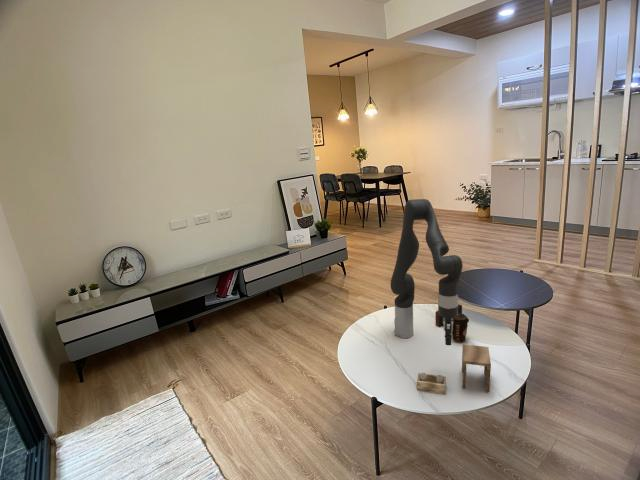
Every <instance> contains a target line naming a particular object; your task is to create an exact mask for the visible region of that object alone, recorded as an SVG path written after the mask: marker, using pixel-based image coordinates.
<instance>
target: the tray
mask: <svg viewBox="0 0 640 480" xmlns="http://www.w3.org/2000/svg"><path fill="white" fill-rule="evenodd" d="M446 380H447V377H446V376H445V375H441V374H432V373H431V374H430V373H426V372H418V373H417V379H416V387H417V388H416V389H417V391H422V392H429V393H436V394H441V395H446V384H447V383H446Z"/></svg>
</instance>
